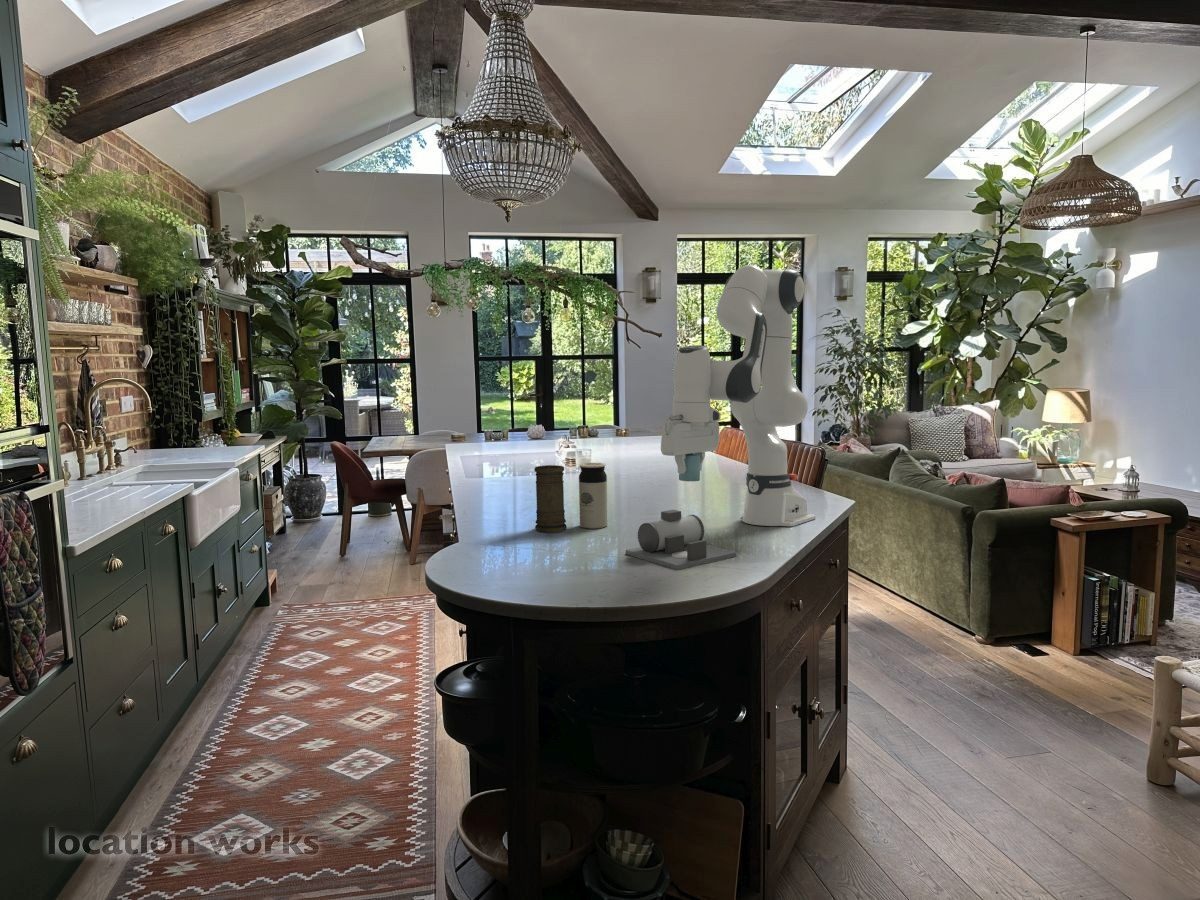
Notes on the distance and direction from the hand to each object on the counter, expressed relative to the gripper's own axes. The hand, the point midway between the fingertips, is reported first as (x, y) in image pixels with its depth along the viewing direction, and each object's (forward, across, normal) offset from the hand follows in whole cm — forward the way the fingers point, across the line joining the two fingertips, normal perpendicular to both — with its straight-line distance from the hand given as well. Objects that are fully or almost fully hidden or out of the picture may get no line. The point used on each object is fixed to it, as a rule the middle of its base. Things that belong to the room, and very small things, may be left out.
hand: (689, 472), depth 188 cm
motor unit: (+21, 0, +2) cm, 21 cm away
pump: (+2, 0, 0) cm, 2 cm away
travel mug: (+21, +14, +41) cm, 48 cm away
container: (+21, +3, +48) cm, 53 cm away
